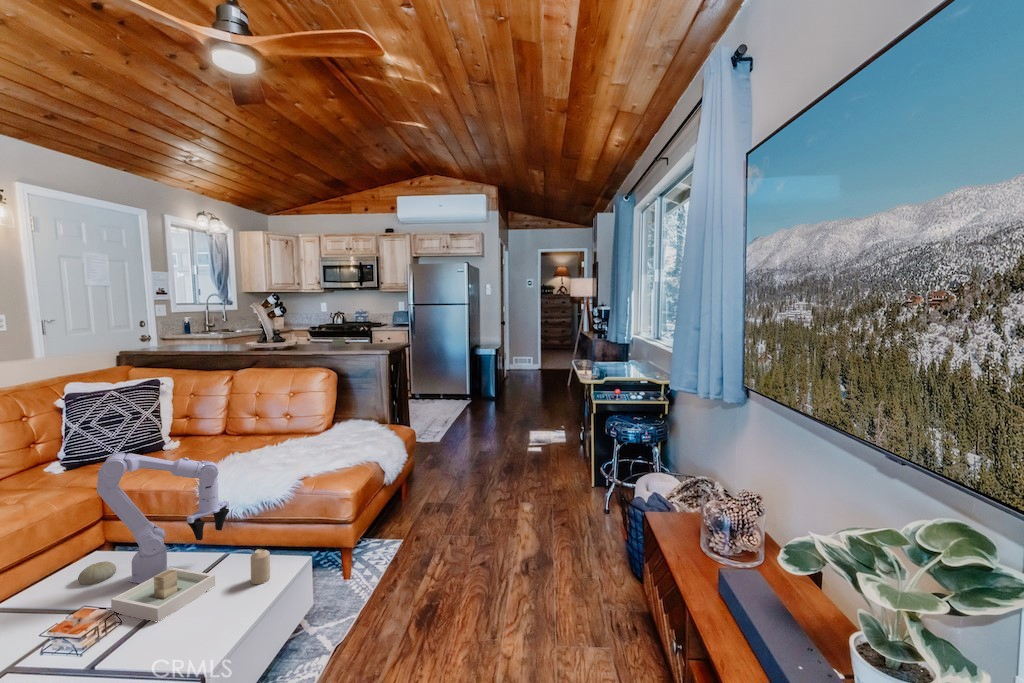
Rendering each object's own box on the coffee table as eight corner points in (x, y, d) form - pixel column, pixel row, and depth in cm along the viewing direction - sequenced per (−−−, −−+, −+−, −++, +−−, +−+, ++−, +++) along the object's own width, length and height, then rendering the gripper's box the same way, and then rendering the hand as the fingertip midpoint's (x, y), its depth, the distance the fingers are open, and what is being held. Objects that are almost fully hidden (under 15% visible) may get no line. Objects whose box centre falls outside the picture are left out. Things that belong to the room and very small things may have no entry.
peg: (154, 602, 135) (153, 576, 135) (167, 594, 139) (166, 569, 139) (164, 604, 134) (163, 578, 134) (177, 596, 138) (176, 571, 138)
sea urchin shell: (123, 569, 150) (101, 560, 145) (102, 593, 146) (78, 585, 141) (114, 561, 155) (92, 553, 150) (93, 585, 151) (69, 577, 146)
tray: (111, 612, 130) (111, 599, 130) (172, 579, 147) (172, 567, 147) (157, 622, 125) (157, 608, 125) (215, 587, 143) (215, 574, 143)
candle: (273, 575, 149) (273, 546, 149) (262, 585, 144) (262, 554, 143) (258, 575, 150) (257, 545, 149) (247, 584, 144) (246, 554, 144)
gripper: (198, 505, 149) (198, 545, 149) (235, 490, 163) (235, 527, 163) (181, 503, 150) (182, 543, 151) (219, 488, 164) (220, 525, 165)
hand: (209, 534), depth 157 cm, fingers open, 7 cm apart
